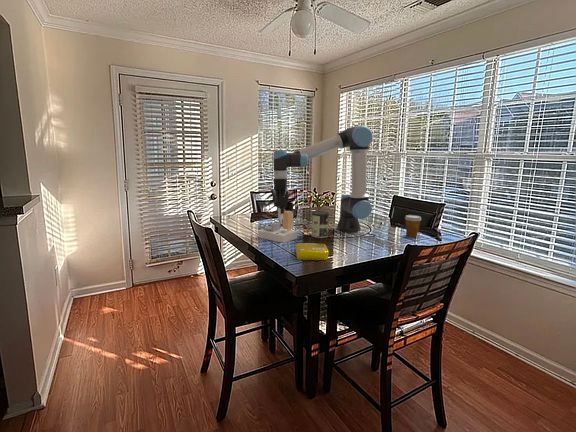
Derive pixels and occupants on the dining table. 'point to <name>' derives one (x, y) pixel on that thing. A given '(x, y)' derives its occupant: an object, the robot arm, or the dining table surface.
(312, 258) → the element tile
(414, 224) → the disposable coffee cup
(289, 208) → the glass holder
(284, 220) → the plug
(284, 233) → the socket plate
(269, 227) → the shutter
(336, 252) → the dining table surface
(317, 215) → the coffee can
